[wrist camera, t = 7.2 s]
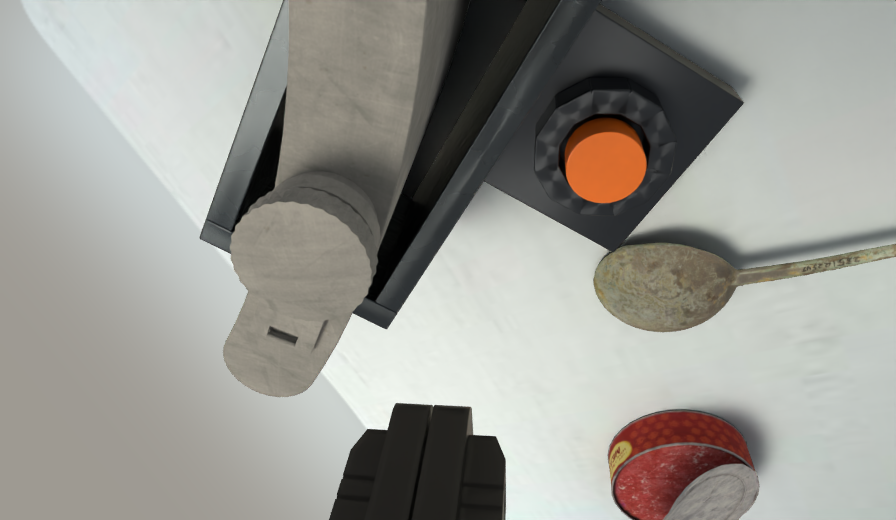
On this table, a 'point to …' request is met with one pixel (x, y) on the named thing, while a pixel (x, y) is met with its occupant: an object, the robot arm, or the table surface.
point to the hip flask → (334, 177)
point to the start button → (604, 160)
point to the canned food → (681, 468)
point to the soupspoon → (691, 282)
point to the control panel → (620, 97)
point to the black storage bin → (451, 174)
